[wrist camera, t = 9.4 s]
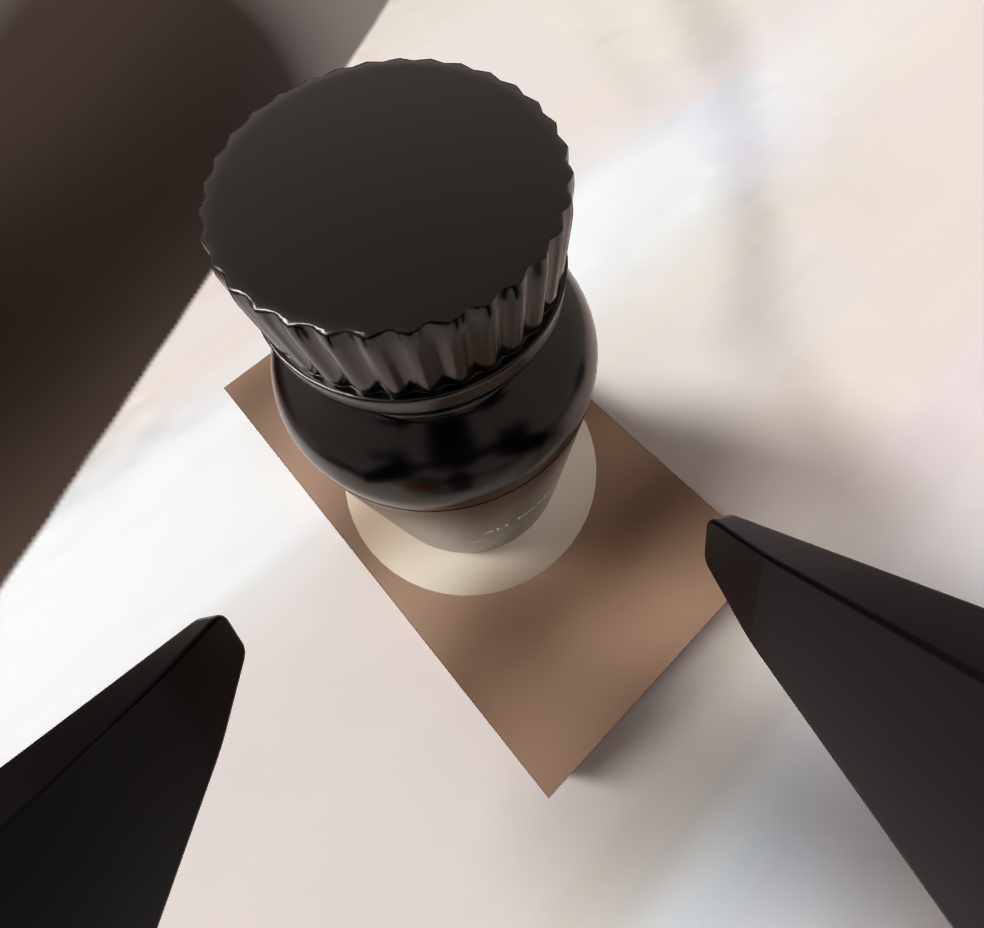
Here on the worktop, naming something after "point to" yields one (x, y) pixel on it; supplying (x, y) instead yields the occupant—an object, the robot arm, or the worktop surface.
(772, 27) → the worktop surface
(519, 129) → the supplement bottle
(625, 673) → the walnut plinth
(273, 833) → the worktop surface
